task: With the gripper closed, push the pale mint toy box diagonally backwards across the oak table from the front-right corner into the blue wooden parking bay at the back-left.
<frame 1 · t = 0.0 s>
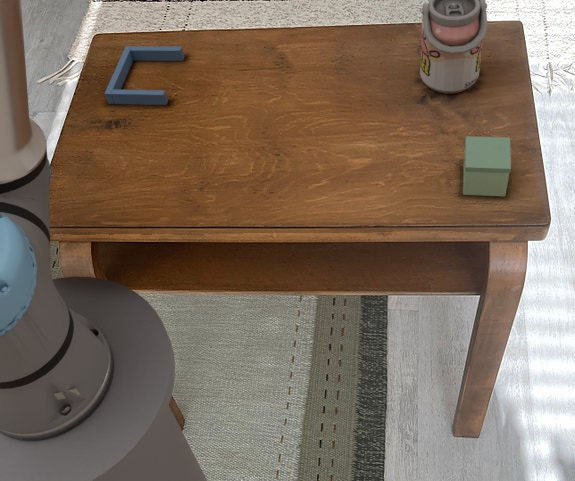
toy box: (483, 180, 93), on the table
parking bay: (150, 80, 113), on the table
beverage can: (449, 81, 105), on the table
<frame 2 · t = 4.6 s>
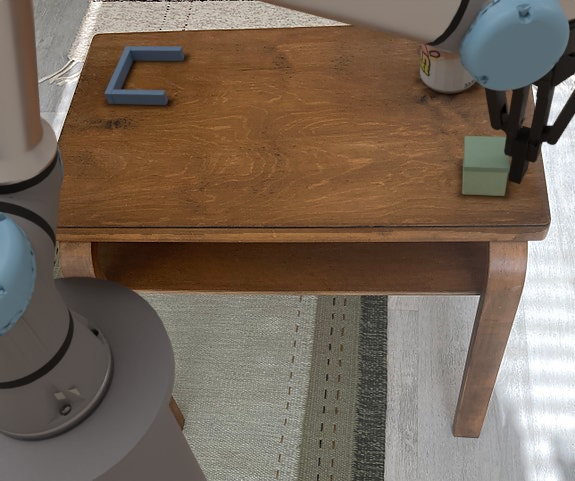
hand: (517, 174, 89), 3 cm above the table, tool pointing down, fingers closed
toy box: (483, 180, 93), on the table, touching gripper
everything else where it was.
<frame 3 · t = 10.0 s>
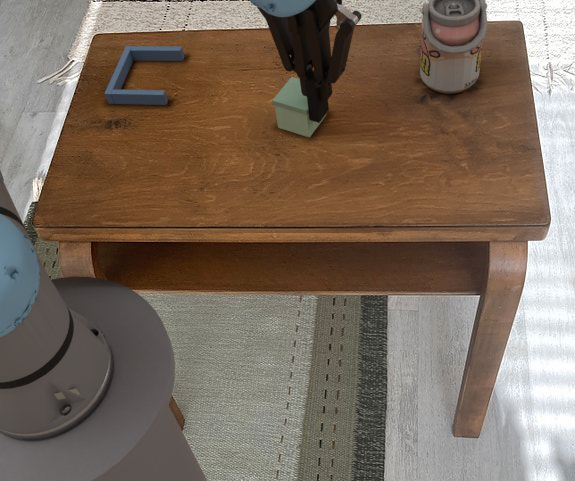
hand: (319, 114, 99), 3 cm above the table, tool pointing down, fingers closed
toy box: (302, 121, 103), on the table, touching gripper
everything else where it was.
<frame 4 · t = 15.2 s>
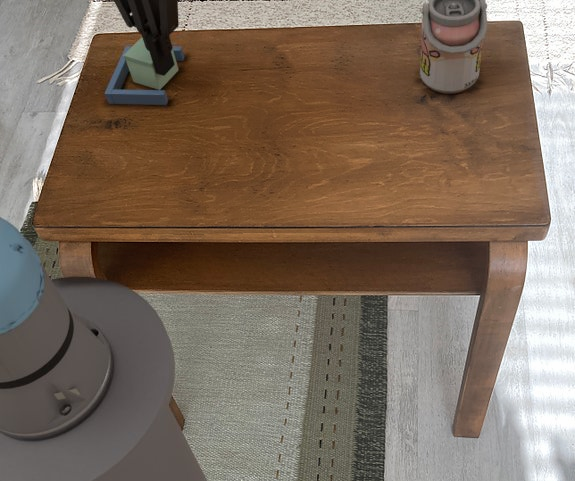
hand: (165, 68, 109), 3 cm above the table, tool pointing down, fingers closed
toy box: (156, 76, 113), on the table, touching gripper
everything else where it was.
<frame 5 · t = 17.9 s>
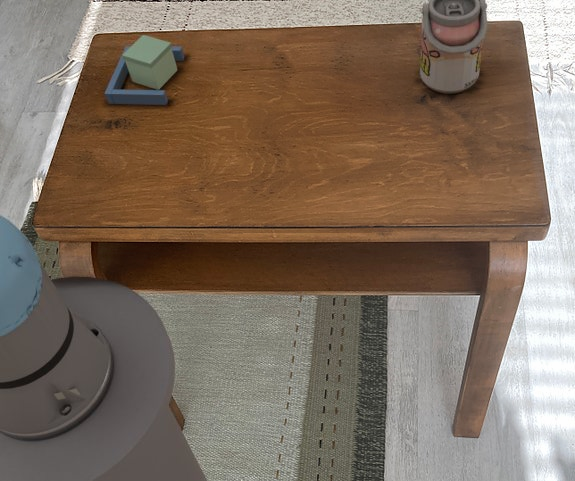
toy box: (155, 76, 113), on the table
everything else where it was.
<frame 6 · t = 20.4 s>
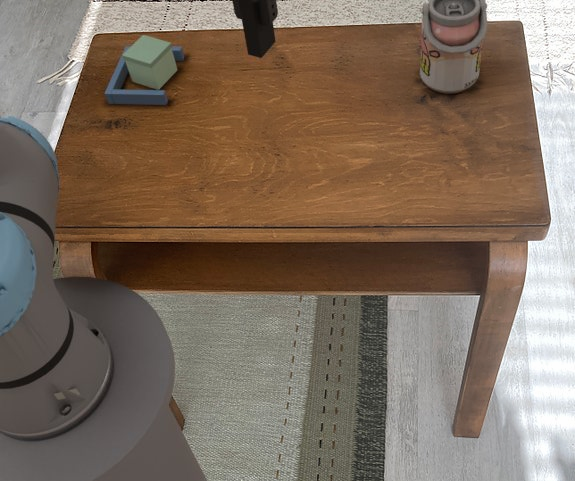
hand: (261, 47, 72), 26 cm above the table, tool pointing down, fingers closed
nothing on the table moved.
at the end: toy box inside the target area on the parking bay (0.9 cm from its centre), point 0.0 cm above the parking bay's base; toy box tilted 0° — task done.
